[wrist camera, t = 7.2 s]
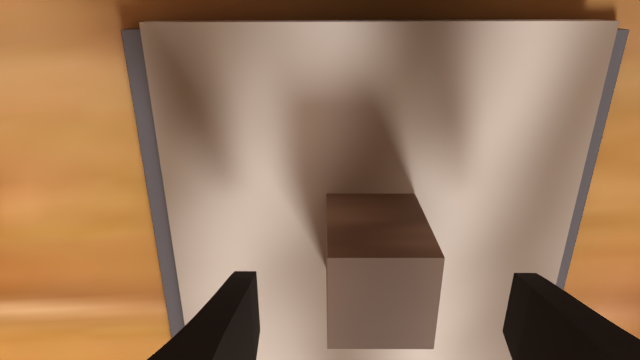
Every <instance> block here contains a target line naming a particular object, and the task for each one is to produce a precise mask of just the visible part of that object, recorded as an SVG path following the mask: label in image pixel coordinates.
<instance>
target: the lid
mask: <svg viewBox="0 0 640 360" xmlns="http://www.w3.org/2000/svg"><path fill="white" fill-rule="evenodd" d="M618 25H619V21H616V20H603V19H501V20H182V21H145V22H139V26H140V32H141V39H142V45H143V52H144V59H145V65H146V72H147V79H148V85H149V92H150V98H151V105H152V112H153V118H154V125H155V132H156V138H157V145H158V152H159V158H160V165H161V171H162V178H163V185H164V191H165V198H166V205H167V211H168V218H169V224H170V231H171V238H172V244H173V251H174V258H175V264H176V271H177V277H178V284H179V291H180V297H181V304H182V311H183V317H184V324H185V325H186V324H187V323H188V322H189V321H190V320H191V319H192V318H193V317H194V316H195V315H196V314H197V313H198V312H199V311H200V310H201V309H202V308H203V306H204V305H205V304H206V303H207V302H208V301H209V300H210V299H211V298H212V296H213V295H214V294H215V293H216V292H217V291H218V290H219V288H220V287H221V286H222V285H223V284H224V282H225V281H226V280H227V279H228V278H229V276H230V275H231V274H232V273H233V272H234V271H256V274H257V289H258V304H259V318H260V335H259V343H258V350H257V357H256V360H512V357H511V355H510V352H509V349H508V346H507V343H506V340H505V337H504V335H503V332H502V330H503V325H504V320H505V315H506V310H507V305H508V300H509V295H510V290H511V285H512V280H513V275H514V273H537V274H539V275H540V276H542V277H544V278H545V279H547V280H549V281H550V282H552V283H553V284H555V285H556V282H557V278H558V274H559V270H560V265H561V261H562V257H563V253H564V249H565V245H566V241H567V236H568V232H569V228H570V224H571V220H572V216H573V212H574V207H575V203H576V199H577V195H578V191H579V187H580V183H581V178H582V174H583V170H584V166H585V162H586V158H587V154H588V149H589V145H590V141H591V137H592V133H593V129H594V125H595V120H596V116H597V112H598V108H599V104H600V100H601V95H602V91H603V87H604V83H605V79H606V75H607V71H608V66H609V62H610V58H611V54H612V50H613V46H614V42H615V37H616V33H617V29H618Z"/></svg>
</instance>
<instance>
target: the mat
mask: <svg viewBox="0 0 640 360" xmlns="http://www.w3.org/2000/svg"><path fill="white" fill-rule="evenodd" d="M628 32H629V30H628V29H619V28H618V29H617V33H616V37H615V42H614V46H613V50H612V54H611V58H610V62H609V66H608V71H607V75H606V79H605V83H604V87H603V91H602V95H601V100H600V104H599V108H598V112H597V116H596V120H595V125H594V129H593V133H592V137H591V141H590V145H589V149H588V154H587V158H586V162H585V166H584V170H583V174H582V178H581V183H580V187H579V191H578V195H577V199H576V203H575V207H574V212H573V216H572V220H571V224H570V228H569V232H568V236H567V241H566V245H565V249H564V253H563V257H562V261H561V265H560V270H559V274H558V278H557V282H556V286H558V287H559V288H561V289H562V290H563V289H564V285H565V281H566V277H567V274H568V270H569V266H570V262H571V258H572V254H573V250H574V246H575V242H576V238H577V234H578V230H579V226H580V222H581V218H582V214H583V210H584V206H585V202H586V198H587V194H588V191H589V187H590V183H591V179H592V175H593V171H594V167H595V163H596V159H597V155H598V151H599V147H600V143H601V139H602V135H603V131H604V127H605V123H606V119H607V115H608V112H609V108H610V104H611V100H612V96H613V92H614V88H615V84H616V80H617V76H618V72H619V68H620V64H621V60H622V56H623V52H624V48H625V44H626V40H627V36H628ZM121 33H122V39H123V45H124V51H125V58H126V64H127V70H128V76H129V82H130V88H131V94H132V100H133V106H134V112H135V118H136V124H137V130H138V136H139V143H140V149H141V155H142V161H143V167H144V173H145V179H146V185H147V191H148V197H149V203H150V209H151V215H152V222H153V228H154V234H155V240H156V246H157V252H158V258H159V264H160V270H161V276H162V282H163V288H164V294H165V300H166V307H167V313H168V319H169V325H170V331H171V337H172V338H173V337H174V336H175V335H176V334H177V333H178V332H179V331H180V330H181V329H182V328H183V327H184V326H185V324H184V317H183V311H182V304H181V297H180V291H179V284H178V277H177V271H176V264H175V258H174V251H173V244H172V238H171V231H170V224H169V218H168V211H167V205H166V198H165V191H164V185H163V178H162V171H161V165H160V158H159V152H158V145H157V138H156V132H155V125H154V118H153V112H152V105H151V98H150V92H149V85H148V79H147V72H146V65H145V59H144V52H143V45H142V39H141V32H140V29H124V30H121Z"/></svg>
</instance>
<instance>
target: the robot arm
mask: <svg viewBox="0 0 640 360" xmlns="http://www.w3.org/2000/svg"><path fill="white" fill-rule="evenodd" d="M502 332H503V335H504V337H505V340H506V343H507V346H508V349H509V352H510V355H511V357H512V360H640V339H638V338H636V337H635V336H633V335H631V334H630V333H628V332H626V331H625V330H623V329H621V328H620V327H618V326H617V325H615V324H613V323H612V322H610V321H609V320H607V319H606V318H604V317H603V316H601V315H600V314H598V313H597V312H595V311H593V310H592V309H590V308H589V307H587V306H586V305H584V304H583V303H582V302H580V301H579V300H577V299H576V298H574V297H573V296H571V295H570V294H568V293H567V292H565V291H564V290H562V289H561V288H559V287H558V286H556V285H555V284H553V283H552V282H550V281H549V280H547V279H545V278H544V277H542V276H540V275H539V274H537V273H514V275H513V280H512V285H511V290H510V295H509V300H508V305H507V310H506V315H505V320H504V325H503V330H502ZM259 335H260V318H259V304H258V289H257V274H256V271H234V272H233V273H232V274H231V275H230V276H229V278H228V279H227V280H226V281H225V282H224V284H223V285H222V286H221V287H220V288H219V290H218V291H217V292H216V293H215V294H214V295H213V296H212V298H211V299H210V300H209V301H208V302H207V303H206V304H205V305H204V306H203V308H202V309H201V310H200V311H199V312H198V313H197V314H196V315H195V316H194V317H193V318H192V319H191V320H190V321H189V322H188V323H187V324H186V325H185V326H184V327H183V328H182V329H181V330H180V331H179V332H178V333H177V334H176V335H175V336H174V337H173V338H172V339H171V340H170V341H168V342H167V343H166V344H165V345H164V346H163V347H162V348H161V349H159V350H158V351H157V352H156V353H155V354H153V355H152V356H151V357H150V358H148V359H147V360H256V357H257V350H258V343H259Z"/></svg>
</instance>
